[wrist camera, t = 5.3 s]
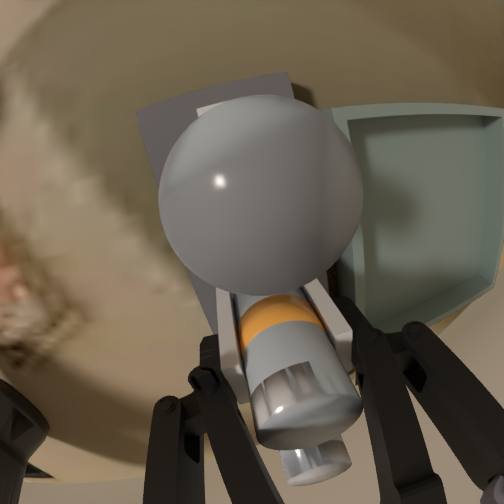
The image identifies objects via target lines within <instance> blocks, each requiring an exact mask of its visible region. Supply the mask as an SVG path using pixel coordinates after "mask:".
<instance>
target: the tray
mask: <svg viewBox="0 0 504 504" xmlns="http://www.w3.org/2000/svg"><path fill="white" fill-rule="evenodd" d="M320 111H321V112H322V113H324V114H325V115H326V116H327V117H329V118H330V119H331V120H332V121H333V122H334V123H335V124H336V125H337V126H338V127H339V128H340V129H341V130H342V131H343V133H344V134H345V136H346V137H347V139H348V140H349V142H350V143H351V145H352V147H353V149H354V151H355V153H356V155H357V158H358V161H359V164H360V167H361V172H362V177H363V188H364V196H363V207H362V212H361V217H360V220H359V223H358V227H357V229H356V231H355V234H354V236H353V238H352V240H351V242H350V243H349V245H348V247H347V248H346V250H345V251H344V252H343V254H342V255H341V256H340V258H339V259H338V260H337V261H336V262H335V263H336V273H337V284H338V296H339V297H341V296H346V297H348V298H350V299H351V300H352V301H353V302H354V303H355V305H356V306H357V307H358V308H359V310H360V311H361V312H362V314H363V315H364V316H365V317H366V319H367V320H368V321H369V323H370V324H371V325H372V327H373V328H377V329H380V330H381V331H383V333H394V332H400V331H402V328H403V326H404V325H405V324H406V323H408V322H411V321H419V322H422V323H424V324H425V325H426V326H427V327H430V326H432V325H434V324H435V323H437V322H439V321H441V320H443V319H444V318H446V317H448V316H450V315H451V314H453V313H455V312H456V311H458V310H460V309H461V308H463V307H465V306H466V305H468V304H470V303H471V302H473V301H474V300H476V299H477V298H479V297H480V296H482V295H483V294H485V293H486V292H488V291H489V290H491V289H492V288H494V285H495V281H496V276H497V272H498V267H499V262H500V257H501V252H502V246H503V239H504V109H500V108H493V107H485V106H475V105H464V104H448V103H386V104H369V105H357V106H346V107H337V108H330V109H325V110H320Z"/></svg>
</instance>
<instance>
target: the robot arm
mask: <svg viewBox="0 0 504 504" xmlns="http://www.w3.org/2000/svg"><path fill="white" fill-rule="evenodd" d="M300 288H301V290H302V292H303V293H304V295H305V297H306V299H307V300H308V302H309V304H310V305H311V306H312V308H313V309H314V311H315V313H316V314H317V316H318V318H319V320H320V322H321V323H322V325H323V327H324V329H325V330H326V332H327V334H328V338H329V340H330V342H331V344H332V345H333V347H334V349H335V351H336V353H337V355H338V357H339V358H340V360H341V362H342V364H343V366H344V368H345V369H346V371H347V372H348V371H351V370H352V363H353V365H354V367H355V369H356V384H355V385H358V386H359V390H360V395H361V399H362V402H363V407H364V412H365V416H366V421H367V425H368V430H369V435H370V439H371V445H372V450H373V455H374V461H375V465H376V472H377V478H378V484H379V490H380V498H381V499H380V504H447V501H446V496H445V492H444V487H443V483H442V480H441V478H440V476H439V475H438V474H436V473H434V471H433V469H432V466H431V462H430V459H429V455H428V451H427V448H426V444H425V441H424V438H423V434H422V431H421V428H420V425H419V422H418V419H417V416H416V413H415V410H414V407H413V404H412V401H411V399H410V396H409V393H408V390H407V387H408V388H409V390H410V391H411V392H412V394H413V395H414V396H415V398H416V399H417V401H418V402H419V403H420V405H421V406H422V408H423V409H424V411H425V412H426V413H427V415H428V416H429V418H430V419H431V420H432V422H433V423H434V425H435V426H436V427H437V429H438V431H439V432H440V433H441V435H442V436H443V438H444V439H445V441H446V442H447V444H448V445H449V447H450V448H451V450H452V451H453V453H454V454H455V456H456V457H457V459H458V460H459V461H460V463H461V465H462V467H463V468H464V470H465V471H466V473H467V474H468V476H469V477H470V479H471V480H472V481H473V482H474V484H475V485H476V486H477V487H479V489H481V490H483V491H484V492H483V495H482V497H481V499H480V503H481V504H504V409H503V408H502V406H501V405H500V404H499V403H498V402H497V400H496V399H495V398H494V397H493V396H492V395H491V394H490V392H489V391H488V390H487V389H486V388H485V387H484V386H483V384H482V383H481V382H480V381H479V380H478V379H477V378H476V376H475V375H474V374H473V373H472V372H471V371H470V370H469V369H468V368H467V367H466V366H465V364H464V363H463V362H462V361H461V360H460V359H459V358H458V357H457V356H456V355H455V354H454V353H453V352H452V351H451V350H450V349H449V348H448V347H447V346H446V345H445V344H444V343H443V342H442V341H441V340H440V339H439V338H438V337H437V335H435V334H434V333H433V332H432V331H431V330H430V329H429V328H428V327H427V326H426V325H425V324H424V323H422V322H419V321H411V322H408V323H406V324H405V325H404V326H403V328H402V331H400V332H394V333H383V331H381V330H380V329H377V328H373V327H372V325H371V324H370V323H369V321H368V320H367V319H366V317H365V316H364V315H363V314H362V312H361V311H360V310H359V308H358V307H357V306H356V305H355V303H354V302H353V301H352V300H351V299H350V298H348V297H346V296H341V297H338V298H335V299H331V298H330V297H329V295H328V294H327V292H326V291H325V289H324V288H323V287H322V285H321V284H320V282H319V281H318V279H317V278H316V279H314V280H313V281H311V282H310V283H308V284H306V285H304V286H301V287H300ZM216 302H217V319H218V334H215V335H211V336H206V337H204V338H203V340H202V341H201V343H200V365H199V366H198V367H196V368H194V369H193V370H192V371H191V372H190V374H189V376H188V382H189V383H190V385H191V386H192V388H193V389H194V391H193V392H192V393H191V394H189V395H187V396H185V397H183V398H180V399H178V398H177V397H175V396H165V397H163V398H161V399H160V400H158V401H157V403H156V404H155V406H154V410H153V417H152V423H151V430H150V438H149V445H148V454H147V462H146V472H145V482H144V494H143V504H205V487H204V486H205V485H204V433H206V432H207V434H208V437H209V440H210V443H211V447H212V450H213V453H214V456H215V458H216V461H217V464H218V467H219V470H220V473H221V475H222V478H223V481H224V484H225V486H226V489H227V491H228V494H229V497H230V498H231V502H232V504H284V502H283V500H282V498H281V496H280V494H279V492H278V491H277V489H276V487H275V485H274V483H273V481H272V479H271V477H270V475H269V473H268V471H267V469H266V467H265V465H264V463H263V461H262V458H261V457H260V454H259V452H258V450H257V448H256V446H255V444H254V441H253V439H252V437H251V435H250V433H249V430H248V428H247V426H246V424H245V421H244V419H243V417H242V415H241V412H240V410H239V409H238V405H237V401H238V403H239V404H243V403H248V402H250V399H249V393H248V388H247V382H246V376H245V370H244V364H243V362H242V358H241V351H240V345H239V339H238V332H237V330H238V327H237V321H236V314H235V308H234V301H233V298H232V295H231V292H227V291H225V290H222V289H219V288H217V287H216ZM405 384H406V385H405ZM406 386H407V387H406ZM48 430H49V426H48V423H47V422H46V420H45V419H44V417H43V416H42V415H41V414H40V412H39V411H38V410H37V409H36V408H35V407H34V406H33V405H32V404H31V403H29V402H28V401H27V400H26V399H25V398H24V397H23V396H21V395H20V394H19V393H18V392H17V391H15V390H14V389H13V388H11V387H10V386H9V385H7V384H6V383H4V382H3V381H1V380H0V504H18V503H19V497H20V492H21V487H22V482H23V478H24V474H25V470H26V466H27V463H28V460H29V458H30V457H31V456H32V455H33V453H34V452H35V451H36V450H37V449H38V448H39V446H40V445H41V444H42V443H43V442H44V441H45V439H46V436H47V433H48Z"/></svg>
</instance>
